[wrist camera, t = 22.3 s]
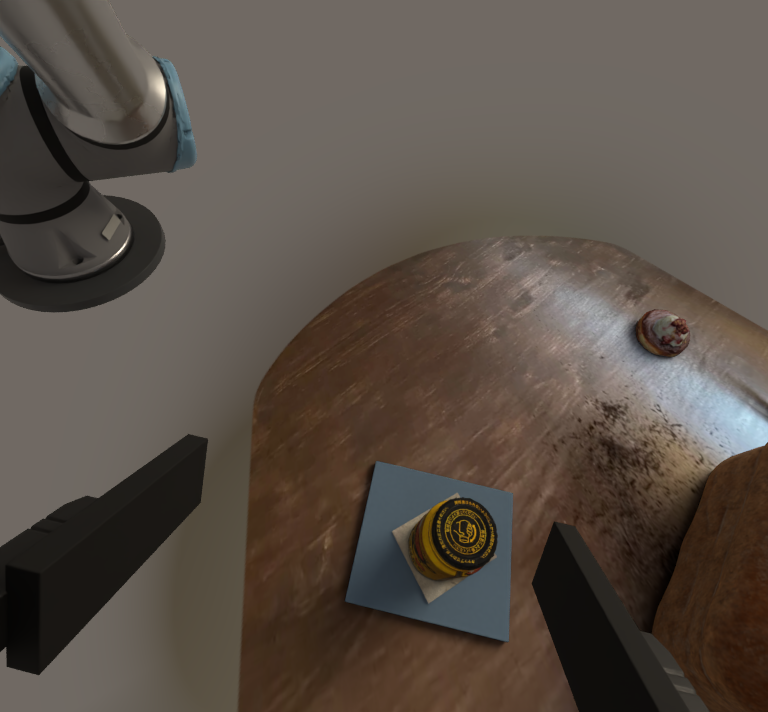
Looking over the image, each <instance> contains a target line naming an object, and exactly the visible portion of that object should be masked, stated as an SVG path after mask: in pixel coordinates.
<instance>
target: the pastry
mask: <svg viewBox="0 0 768 712" xmlns="http://www.w3.org/2000/svg"><path fill="white" fill-rule="evenodd" d="M685 322H686V320H684V319H681V318H680V317H678V316H677V315H675V314H673V313H671V312H669V311H667V310H652V311H649V312H647V313H646V314H645V315H644V316H643V317H642V318H641V319H640V320H639V321H638V322H637V325H636V336H637V339H638V341H639V342H640V343H641V345H642V346H643V347H644V348H645V349H646V350H648V351H650V352H651V353H653V354H655V355H661V356H668V357H674V356H676V355H678V354H680V353H681V352H682V351H683V350H684V349H685V348H686V347H687V346H688V344H689V341H690V331H689V328H688V326H687V325H686V323H685Z"/></svg>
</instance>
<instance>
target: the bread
mask: <svg viewBox="0 0 768 712" xmlns="http://www.w3.org/2000/svg"><path fill="white" fill-rule="evenodd" d="M652 635H653V636H654V637H655V638H656V639H657V640H658V641H659V642H660V643H661V644H662V645H663V646H664V647H665V648H666V649H667V650H668V651H669V652H670V653H671V654H672V656H673V657H674V659H675V660H676V662H677V663H678V665H679V666H680V668H681V669H682V671H683V672H684V676H685V678H688V680H689V681H690V683H691V684H692V686H693V687H694V689H695V690H696V694H697V695H698V696H700V698H701V699H702V701H703V702H704V704H705V705H706V707H707V708H708V710H709V711H710V712H768V442H767V444H766V445H765V446H762V447H758V448H755V449H752V450H749V451H746V452H743V453H740V454H737V455H734V456H732V457H730V458H728V459H726V460H724V461H723V462H721V463H720V464H719V465H718V466H716V468H715V469H714V470H713V471H712V472H711V474H710V476H709V478H708V480H707V482H706V485H705V488H704V491H703V495H702V498H701V501H700V503H699V506H698V509H697V511H696V514H695V516H694V519H693V521H692V523H691V526H690V527H689V529H688V531H687V533H686V535H685V538H684V540H683V542H682V545H681V549H680V552H679V556H678V560H677V563H676V567H675V570H674V572H673V575H672V577H671V580H670V582H669V585H668V587H667V589H666V591H665V593H664V595H663V598H662V600H661V602H660V604H659V606H658V609H657V612H656V616H655V619H654V623H653V629H652Z"/></svg>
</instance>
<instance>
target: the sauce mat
mask: <svg viewBox="0 0 768 712" xmlns="http://www.w3.org/2000/svg"><path fill="white" fill-rule="evenodd" d="M456 493H458V494H459V496H460V498H462V497H464V498H471V499H473V500H474V501H476V502H478V503H480V504H482V505H483V506H484V507H485V508H486V509H487V510H488V512H489V513H490V515H491V516H492V518H493V520H494V522H495V524H496V528H497V534H498V538H497V541H498V543H497V547H496V551H495V554H496V556H497V557H496V558H495V559H493V560H492V561H490V562H489V563H487V564H486V565H484V566H483V568H481V569H480V570H479V571H478V572H476V573H474V574H473V575H470V576H468V577H467V578H465V579H464V580H462V581H461V582H459V583H458V584H456V585H455V586H453V587H452V588H451V589H449V590H448V591H446V592H445V593H443V594H442V595H440V596H439V597H437V598H436V599H435V600H433V601H432V602H430V603H429V604H428V602H427V600H426V598H425V596H424V594H423V592H422V590H421V588H420V586H419V584H418V582H417V580H416V578H415V576H414V574H413V572H412V570H411V568H410V566H409V564H408V562H407V561H406V558H405V556H404V555H403V553H402V551H401V548H400V546H399V545H398V543H397V540H396V538H395V536H394V535H393V532H392V531H393V530H395V529H397V528H398V527H400V526H402V525H403V524H405V523H407V522H409V521H410V520H412V519H414V518H415V517H417V516H419V515H420V514H422V513H424V512H426V511H427V510H429V509H431V508H432V507H434V506H435V505H437V504H438V503H439V502H442V501H444V500H446V499H447V498H449V497H451V496H453V495H454V494H456ZM512 507H513V493H510V492H506V491H501V490H497V489H493V488H489V487H485V486H480V485H476V484H472V483H468V482H464V481H459V480H455V479H451V478H447V477H442V476H438V475H434V474H430V473H426V472H421V471H417V470H413V469H409V468H405V467H400V466H396V465H392V464H388V463H383V462H379V461H376V464H375V468H374V473H373V477H372V482H371V486H370V491H369V495H368V500H367V504H366V508H365V513H364V517H363V522H362V526H361V531H360V535H359V540H358V544H357V549H356V553H355V558H354V562H353V567H352V571H351V576H350V580H349V584H348V589H347V593H346V598H345V602H349V603H352V604H356V605H360V606H364V607H368V608H372V609H376V610H380V611H384V612H388V613H392V614H396V615H400V616H404V617H408V618H412V619H416V620H420V621H424V622H428V623H432V624H436V625H440V626H444V627H448V628H452V629H456V630H460V631H464V632H468V633H472V634H476V635H480V636H484V637H488V638H492V639H496V640H500V641H504V642H509V613H510V578H511V542H512Z"/></svg>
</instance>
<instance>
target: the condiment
mask: <svg viewBox="0 0 768 712" xmlns="http://www.w3.org/2000/svg"><path fill="white" fill-rule="evenodd" d="M392 532H393V535H394V536H395V538H396V540H397V543H398V545H399V546H400V548H401V551H402V553H403V555H404V556H405V558H406V561H407V562H408V564H409V566H410V568H411V570H412V572H413V574H414V576H415V578H416V580H417V582H418V584H419V586H420V588H421V590H422V592H423V594H424V596H425V598H426V600H427V602H428V604H429V603H430V602H432V601H433V600H435V599H436V598H437V597H439V596H440V595H442V594H443V593H445V592H446V591H448V590H449V589H451V588H452V587H453V586H455V585H456V584H458V583H459V582H461V581H462V580H464V579H465V578H467V577H468V576H470V575H473V574H474V573H476V572H478V571H479V570H480V569H481V568H483V566H484V565H486V564H487V563H489V562H490V561H492V560H493V559H495V558H496V557H497V556H496V554H495V551H496V547H497V543H498V541H497V538H498V534H497V528H496V524H495V522H494V520H493V518H492V516H491V515H490V513H489V512H488V510H487V509H486V508H485V507H484V506H483V505H482V504H480V503H478V502H476V501H474V500H473V499H471V498H464V497H462V498H460V496H459V494H458V493H456V494H454V495H453V496H451V497H449V498H447V499H446V500H444V501H442V502H439V503H438V504H437V505H435V506H434V507H432V508H431V509H429V510H427V511H426V512H424V513H422V514H420V515H419V516H417V517H415V518H414V519H412V520H410V521H409V522H407V523H405V524H403V525H402V526H400V527H398V528H397V529H395V530H393V531H392Z"/></svg>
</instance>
